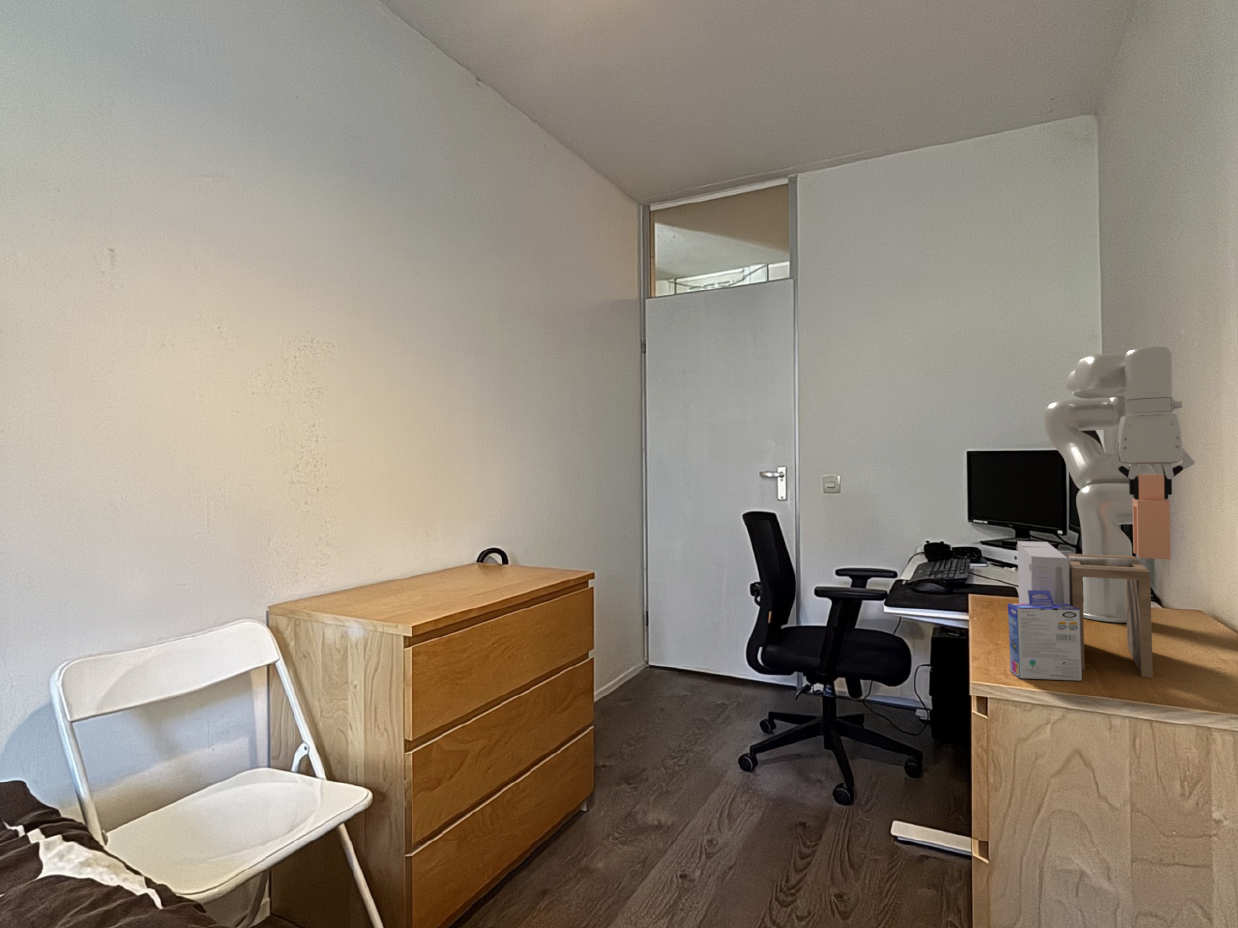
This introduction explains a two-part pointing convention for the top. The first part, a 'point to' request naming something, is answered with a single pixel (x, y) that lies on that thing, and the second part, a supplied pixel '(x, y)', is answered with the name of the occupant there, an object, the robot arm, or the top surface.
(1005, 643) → the top surface
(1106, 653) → the top surface
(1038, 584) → the game console
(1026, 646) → the ink cartridge box
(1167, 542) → the salmon stepped block
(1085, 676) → the top surface
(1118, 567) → the wooden rack
